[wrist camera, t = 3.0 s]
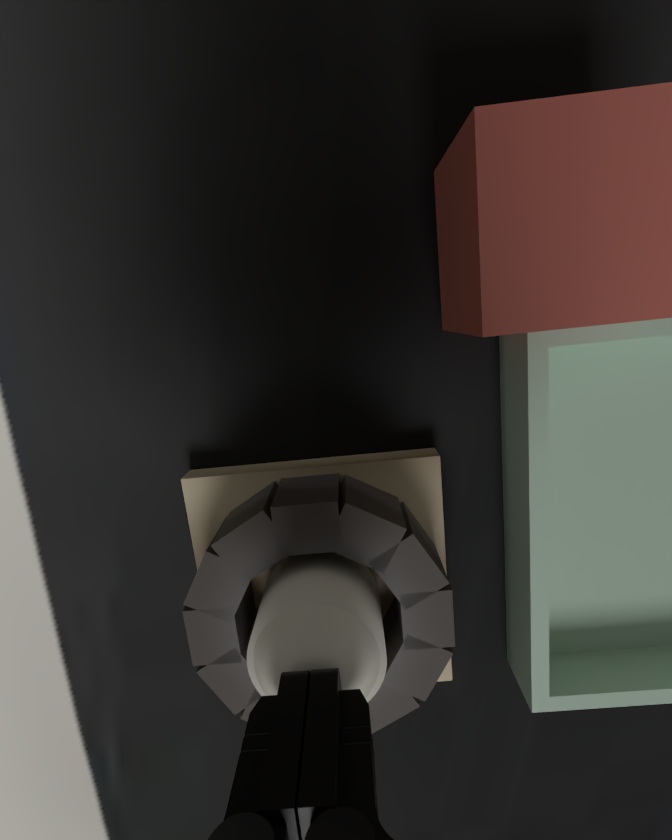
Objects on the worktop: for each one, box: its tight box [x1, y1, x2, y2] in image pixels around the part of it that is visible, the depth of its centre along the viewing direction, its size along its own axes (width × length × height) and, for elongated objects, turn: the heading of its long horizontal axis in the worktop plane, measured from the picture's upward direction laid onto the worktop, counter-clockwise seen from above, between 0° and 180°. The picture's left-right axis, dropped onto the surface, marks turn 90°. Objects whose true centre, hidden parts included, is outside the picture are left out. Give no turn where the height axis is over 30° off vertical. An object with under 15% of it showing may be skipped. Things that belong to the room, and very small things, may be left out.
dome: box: [247, 552, 387, 702], centre depth 14 cm, size 4×4×4 cm
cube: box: [434, 82, 672, 337], centre depth 13 cm, size 5×5×5 cm
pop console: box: [181, 448, 455, 734], centre depth 17 cm, size 9×9×4 cm
